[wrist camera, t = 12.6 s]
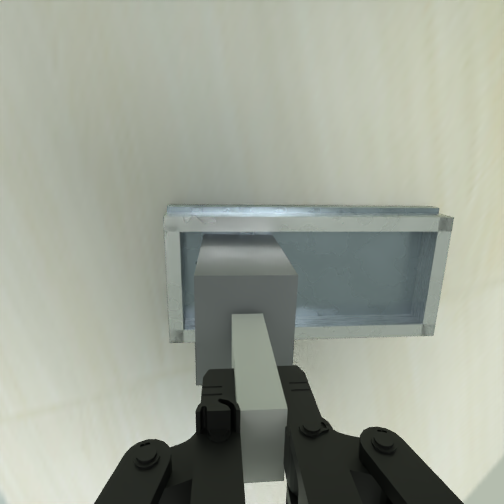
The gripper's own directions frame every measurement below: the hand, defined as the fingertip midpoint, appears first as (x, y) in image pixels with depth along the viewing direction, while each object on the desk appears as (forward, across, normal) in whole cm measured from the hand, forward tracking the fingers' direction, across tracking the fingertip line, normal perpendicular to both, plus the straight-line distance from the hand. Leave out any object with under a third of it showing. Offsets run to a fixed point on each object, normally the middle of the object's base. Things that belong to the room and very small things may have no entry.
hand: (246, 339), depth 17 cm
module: (+10, 0, 0) cm, 10 cm away
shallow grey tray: (+11, +5, 0) cm, 12 cm away
